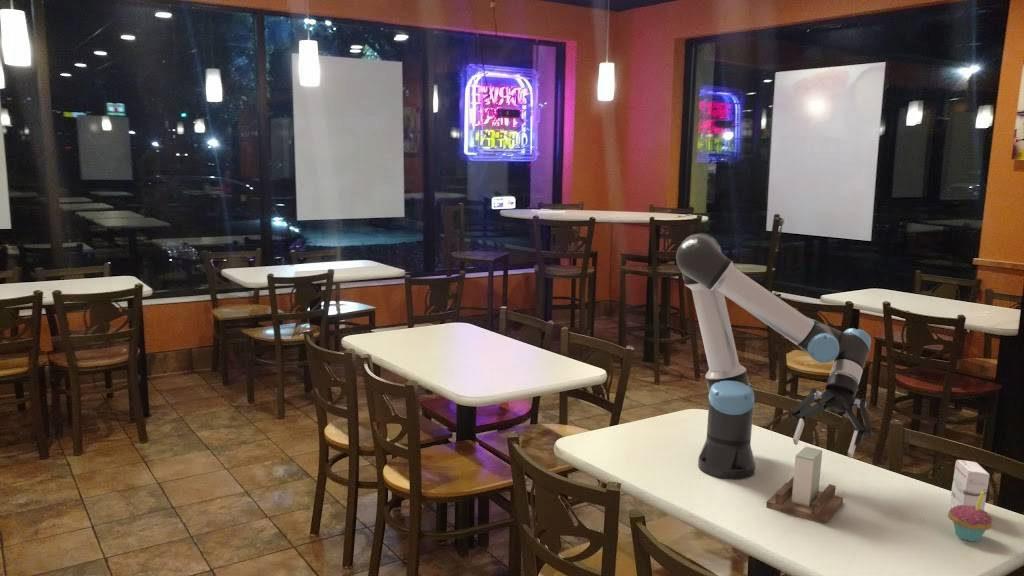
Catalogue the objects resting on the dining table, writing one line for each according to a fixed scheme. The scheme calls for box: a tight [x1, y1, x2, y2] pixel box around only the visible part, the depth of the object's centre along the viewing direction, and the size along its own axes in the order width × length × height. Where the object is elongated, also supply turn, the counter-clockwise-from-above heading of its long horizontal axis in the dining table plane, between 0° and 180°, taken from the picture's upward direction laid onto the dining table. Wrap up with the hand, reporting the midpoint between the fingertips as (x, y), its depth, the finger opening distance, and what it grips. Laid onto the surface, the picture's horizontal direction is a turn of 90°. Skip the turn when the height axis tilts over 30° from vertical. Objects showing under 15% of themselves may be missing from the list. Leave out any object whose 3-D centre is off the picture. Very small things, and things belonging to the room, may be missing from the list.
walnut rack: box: [766, 476, 844, 525], centre depth 187 cm, size 14×15×4 cm
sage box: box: [792, 446, 823, 507], centre depth 186 cm, size 4×8×12 cm, turn 143°
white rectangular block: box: [949, 459, 990, 511], centre depth 185 cm, size 9×5×12 cm, turn 168°
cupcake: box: [947, 489, 993, 542], centre depth 172 cm, size 9×8×12 cm
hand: (821, 448), depth 195 cm, fingers open, 13 cm apart
